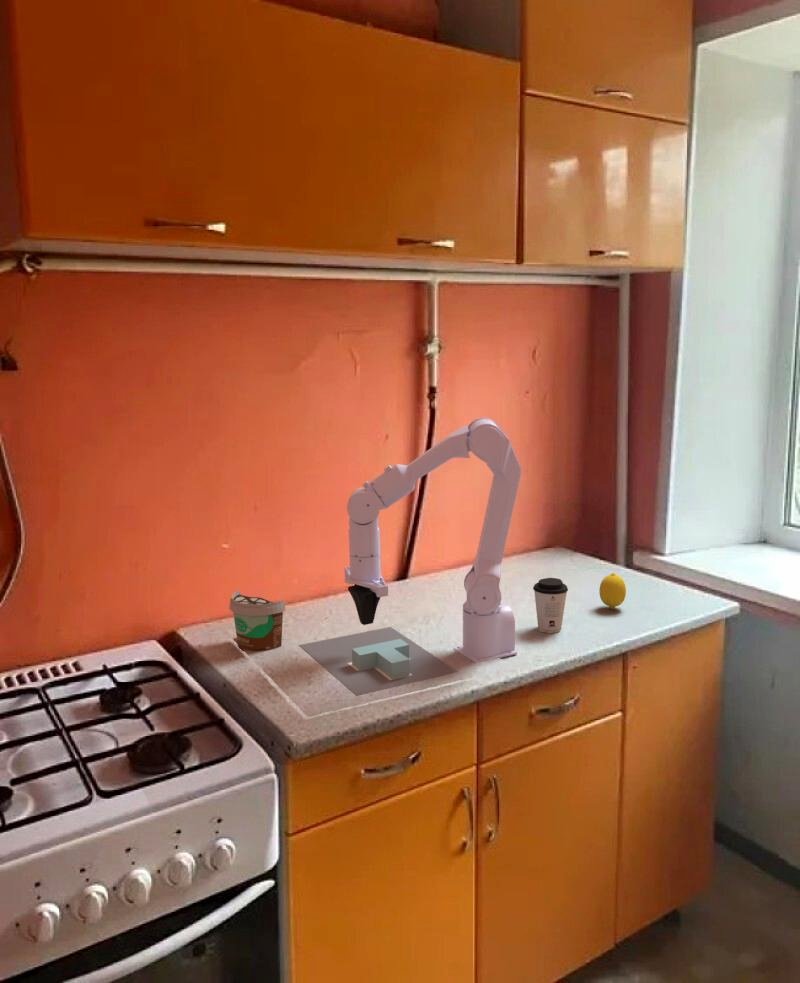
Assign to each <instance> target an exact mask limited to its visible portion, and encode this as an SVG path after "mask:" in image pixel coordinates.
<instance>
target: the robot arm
mask: <svg viewBox="0 0 800 983" xmlns="http://www.w3.org/2000/svg"><path fill="white" fill-rule="evenodd" d="M510 440H511V439H510V438H509V437H508V436H507V435H506V433H505V432H504V431H503V429H502V428H501V427H500V426H499V425H498V424H497V423H496V422H495V420H493V419H490V418H488V417H478V418H476V419H474V420H472V421H471V422H470V423H469V424H468V425H467V424H466V425H463V426H461V427H460V428H458V429H456V430H454V431H453V432H451V433H450V434H448V435H447V436H445V437H444V438H442V440H440V441H438V442H437V443H436V444H434V445H433V446H432V447H430V448H429V449H427V450H426V451H425V452H423V453H422V454H420V455H419V456H418V457H416V458H415V459H413V461H411V462H410V463H408V464H407V465H406V464H400V463H396V464H395V465H393V466H391V465H390V464H388V465H387V466H385V467H384V470H383V471H384V472H383V473H381V474H380V475H378V476H376V477H375V478H373V479H372V480H371V481H368V480H366V481H364V482H363V483H362V487H358V488H356V489H355V490H352V492H351V494H350V496H349V497H348V501H347V505H346V512H347V514H348V517H349V519H348V526H349V529H348V548H349V550H348V552H349V566H345V567H344V577H345V578H344V581H343V582H344V583H345V584H347V585H350V586H348V587H347V590H348V592H349V594H350V595H351V597H352V599H353V603H354V605H355V608H356V612H357V616H358V619H359V622H360V624H361V625H363V626H366V625H372V624H374V620H375V616H376V613H377V612H376V611H377V608H378V605H379V602H380V600H381V598H382V597H383V598H384V597H388V596H389V585H388V584H386V582H385V580H384V578H383V577H384V576H383V575H382V571H381V566H382V565H381V562H382V561H381V539H380V538H381V534H380V533H381V531H380V530H381V529H380V528H379V514H380V510H386V509H388V508H390V507H391V506H393V505H394V504H396V503H397V502H398V501H401V499H403V498H404V497H406V496H408V495H409V494H410V493H412V492H413V491H415V488H416V482H417V481H418V480H419V479H421V478H422V477H424V476H425V475H427V474H428V473H430V472H433V471H434V470H435V469H437V468H439V467H440V466H442V465H444V464H445V463H446V462H448V461H450V460H452V459H454V458H457V459H458V458H461V459H469V458H471V456H470V453H469V452H471V453H472V454H473V455H474V456H475V457H476V458H478V459H479V460H480V461H482V462H484V463H485V464H486V465H487V467H488V468H489V470H490V471H491V472H492V474H493V477H492V482H491V484H490V490H489V495H488V499H487V504H486V509H485V512H484V513H485V514H484V518H483V523H482V528H481V532H480V536H479V537H480V538H479V541H478V547H477V552H476V554H475V557H474V559H473V563H472V566H471V568H470V570H469V571H468V572H467V573H466V575H465V577H464V578H463V579H464V580H463V587H464V590H465V592H466V601H465V602H464V603H463V604H462V645H459V646H453V650H455V651H457V652H458V653H460V654H461V655H462V656H464V657H466V658H468V659H469V660H470V661H472V662H474V663H479V662H484V661H487V660H492V659H497V658H498V659H501V658H505V657H506V658H507V657H510V656H511V657H512V656H514V655H517V654H518V651H517V650H516V649H515V648H516V647H515V646H516V644H515V643H516V618H515V614H514V612H513V610H512V608H511V607H510V606H509V605H508V604H505V603H501V602H502V592H501V589H500V582H501V576H502V563H503V556H504V553H505V548H506V543H507V539H508V534H509V530H510V524H511V521H512V516H513V513H514V506H515V503H516V502H515V501H516V498H517V494H518V488H519V485H520V484H519V483H520V480H521V475H522V468H521V465H520V462H519V460H518V457H517V455H516V453H515V450H514V448H513V445H512V443H511V441H510ZM352 584H353V585H352Z"/></svg>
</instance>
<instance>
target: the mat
mask: <svg viewBox="0 0 800 983" xmlns="http://www.w3.org/2000/svg"><path fill="white" fill-rule="evenodd" d="M397 639H401V640H403V641H404V642H406V643H407V644H409V665H410V675H409V676H405V677H400V678H396V679H391V678H390V677H388V676H387V675H386V674H384V673H383V672H382V671H381V670H379V669H378V668H372V669H368V670H363V671H360V670H358V669H357V668H356V667H355V666H353V665H352V649H354V648H358V647H363V646H368V645H373V644H378V643H382V642H387V641H392V640H397ZM298 647H300V648H301V649H302V650H303V651H305V652H306V653H307V654H308V655H309V656H310V657H312V659H314V661H316V662H317V663H318V664H319V665H320V666H322V667H323V668H324V669H325V670H326V671H327V672H329V673H330V674H331V675H332V676H333V677H334V678H336V679H337V680H338V681H339V682H340V683H341V684H342V685H344V686H345V687H346V688H347V689H348V690H349V691H351V693H353V694H354V695H355V696H360V695H361V696H362V695H365V694H369V693H374V692H378V691H383V690H386V689H390V688H391V689H392V688H395V687H400V686H404V685H408V684H412V683H416V682H421V681H425V680H430V679H433V678H437V677H441V676H447V675H451V674H455V673H458V670H456V669H455V668H453V667H452V666H450V665H449V664H447V663H446V662H444V661H443V660H441V659H439V658H438V657H437V656H436V655H434V654H432V653H431V652H429V651H428V650H426V649H425V648H423V647H422V646H420V644H418V643H416V642H414V641H412V640H411V639H409V638H408V637H407V636H405V635H404V634H402V633H401V632H399V631H398V630H396V629H395V628H393V627H392V626H388V627H383V628H378V629H373V630H367V631H362V632H357V633H352V634H347V635H342V636H336V637H333V638H328V639H322V640H317V641H313V642H312V641H311V642H307V643H302V644H299V645H298Z"/></svg>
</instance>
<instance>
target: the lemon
mask: <svg viewBox="0 0 800 983" xmlns="http://www.w3.org/2000/svg"><path fill="white" fill-rule="evenodd" d="M626 594H627V587H626V582H625V581H624V579H623V578H622V577H621V576H619V575H618V574H616V573H613V572H611V574H608V575H606V576H604V577H603V578H602V580H601V582H600V585H599V597H600V601H601V602H602V603H603V604H604V605H605V606H607V607H608V608H609V609H611V610H614V609H615V608H616V607H619V606H620V605H621V604H623V602H624V601H625V598H626Z"/></svg>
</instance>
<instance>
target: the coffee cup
mask: <svg viewBox="0 0 800 983" xmlns="http://www.w3.org/2000/svg"><path fill="white" fill-rule="evenodd" d="M532 589H533V591H534V598H535V600H534V601H535V609H536V618H537V620H536V621H537V628H538V630H539V632H542V631H543V633H545V632H547V633H548V634H555V633H554V632H556V633H559V632H561V631H562V625H563V620H564V614H565V613H564V612H565V608H566V607H565V605H566V599H567V594H568V591H569V588H568V586H567V585H566V584H565V583H564V582H563V580H562V579H560V578H555V577H544V578H541V579H538V582H536V583H534V585H533V586H532ZM560 630H561V631H560Z"/></svg>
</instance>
